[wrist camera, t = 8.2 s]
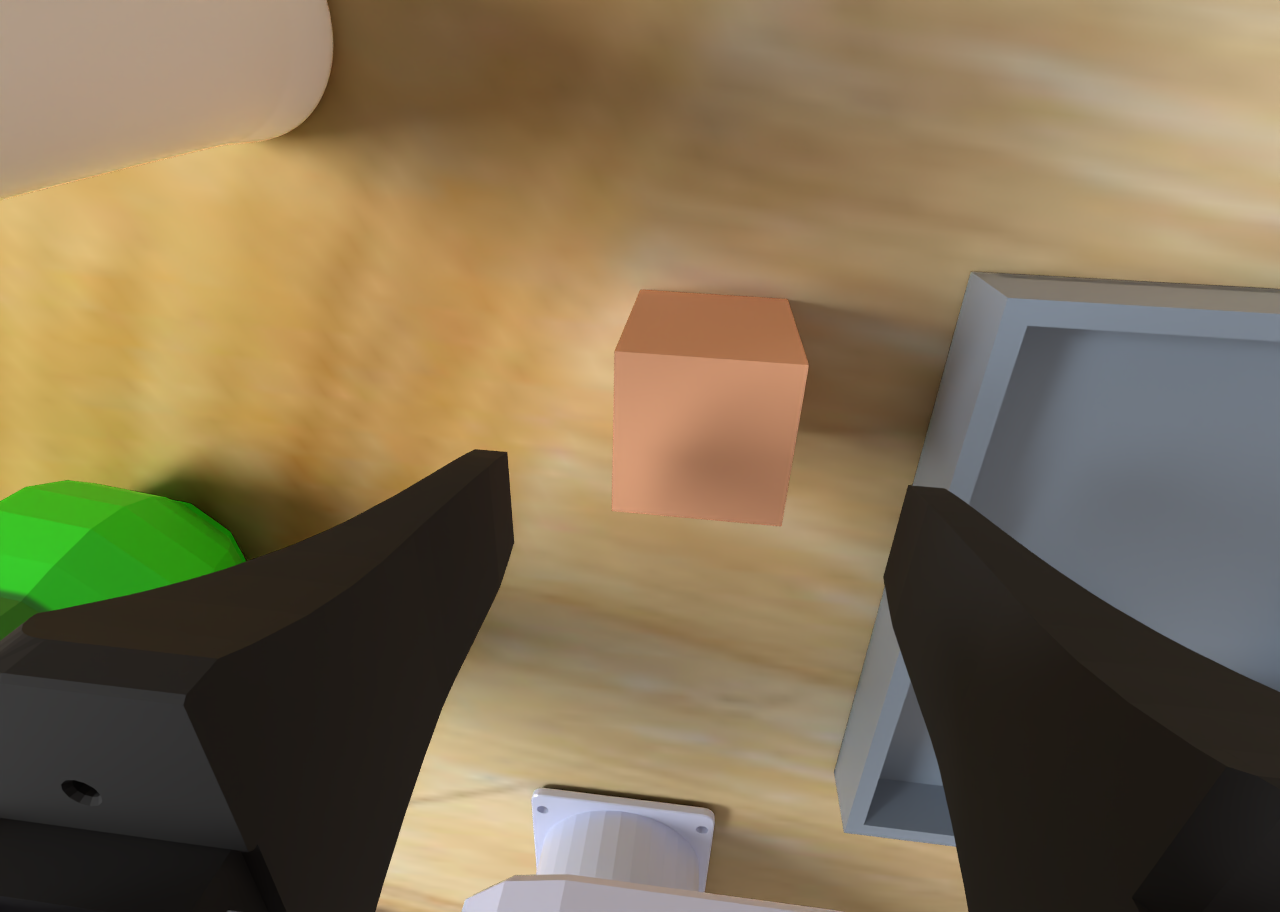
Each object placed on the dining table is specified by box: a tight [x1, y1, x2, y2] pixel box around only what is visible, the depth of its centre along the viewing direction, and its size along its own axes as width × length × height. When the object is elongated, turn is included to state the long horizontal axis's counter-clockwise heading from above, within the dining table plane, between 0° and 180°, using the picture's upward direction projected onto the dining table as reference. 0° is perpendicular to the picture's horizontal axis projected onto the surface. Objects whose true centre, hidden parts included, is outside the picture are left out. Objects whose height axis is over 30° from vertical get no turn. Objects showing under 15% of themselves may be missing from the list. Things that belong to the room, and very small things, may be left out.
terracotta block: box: [612, 290, 809, 526], centre depth 17 cm, size 4×4×5 cm
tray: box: [834, 272, 1280, 847], centre depth 20 cm, size 20×14×2 cm
